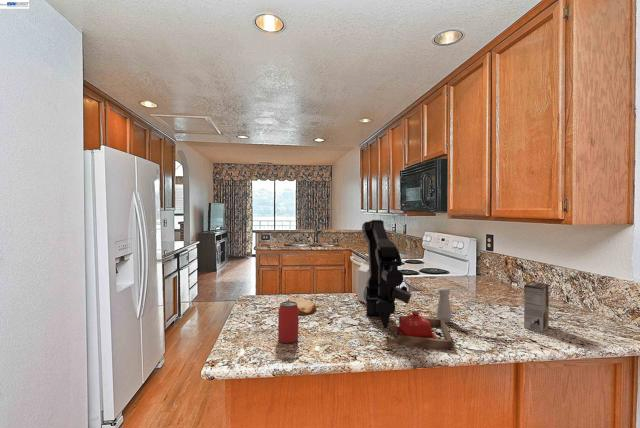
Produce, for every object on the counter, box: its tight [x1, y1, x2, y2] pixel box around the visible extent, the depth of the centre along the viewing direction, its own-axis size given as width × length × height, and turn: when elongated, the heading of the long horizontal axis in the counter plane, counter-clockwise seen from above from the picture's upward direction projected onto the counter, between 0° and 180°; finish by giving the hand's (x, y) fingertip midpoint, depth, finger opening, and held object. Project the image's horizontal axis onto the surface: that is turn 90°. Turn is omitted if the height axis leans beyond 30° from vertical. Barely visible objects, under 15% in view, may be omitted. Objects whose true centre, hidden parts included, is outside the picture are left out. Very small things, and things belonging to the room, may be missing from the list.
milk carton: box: [357, 260, 370, 304], centre depth 152 cm, size 7×7×19 cm
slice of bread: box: [287, 297, 317, 316], centre depth 140 cm, size 18×18×4 cm
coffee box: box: [523, 281, 550, 333], centre depth 118 cm, size 9×6×16 cm
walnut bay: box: [397, 314, 453, 351], centre depth 110 cm, size 16×22×2 cm
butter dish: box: [394, 310, 439, 339], centre depth 109 cm, size 12×12×8 cm
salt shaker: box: [435, 287, 453, 324], centre depth 124 cm, size 6×6×13 cm
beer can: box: [277, 300, 300, 344], centre depth 104 cm, size 7×7×12 cm
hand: (385, 323), depth 113 cm, fingers open, 9 cm apart
